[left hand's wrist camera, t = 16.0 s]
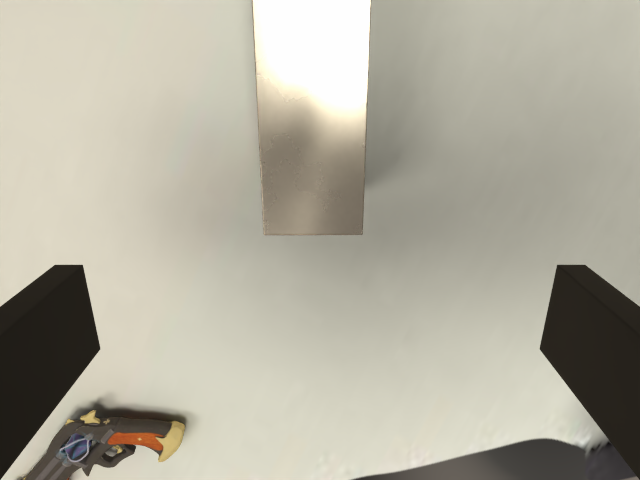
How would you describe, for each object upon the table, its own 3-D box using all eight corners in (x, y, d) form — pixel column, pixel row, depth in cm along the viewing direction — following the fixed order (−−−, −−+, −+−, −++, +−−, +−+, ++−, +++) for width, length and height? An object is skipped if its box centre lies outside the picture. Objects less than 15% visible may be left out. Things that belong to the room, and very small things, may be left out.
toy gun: (189, 443, 42) (87, 398, 38) (92, 537, 48) (-3, 506, 45) (194, 418, 44) (99, 374, 41) (101, 511, 51) (12, 480, 47)
